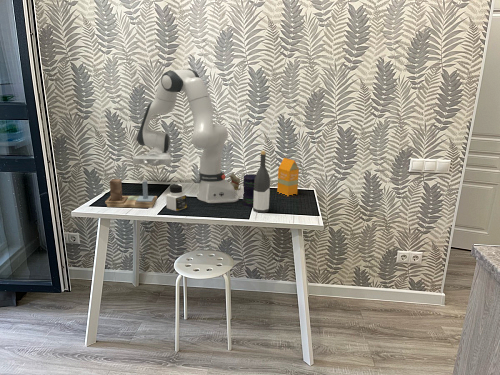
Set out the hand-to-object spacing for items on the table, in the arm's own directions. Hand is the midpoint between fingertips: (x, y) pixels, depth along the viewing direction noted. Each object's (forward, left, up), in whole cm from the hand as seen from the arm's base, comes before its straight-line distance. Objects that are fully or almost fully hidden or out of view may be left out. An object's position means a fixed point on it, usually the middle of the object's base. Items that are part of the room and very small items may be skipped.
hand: (149, 163), depth 215 cm
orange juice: (-75, -8, -18) cm, 78 cm away
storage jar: (-54, +12, -18) cm, 58 cm away
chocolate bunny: (-44, -14, -18) cm, 50 cm away
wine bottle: (-58, +21, -18) cm, 64 cm away
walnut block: (+15, +14, -16) cm, 26 cm away
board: (+7, +12, -18) cm, 23 cm away
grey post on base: (0, +14, -15) cm, 21 cm away
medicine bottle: (-16, +19, -18) cm, 31 cm away
